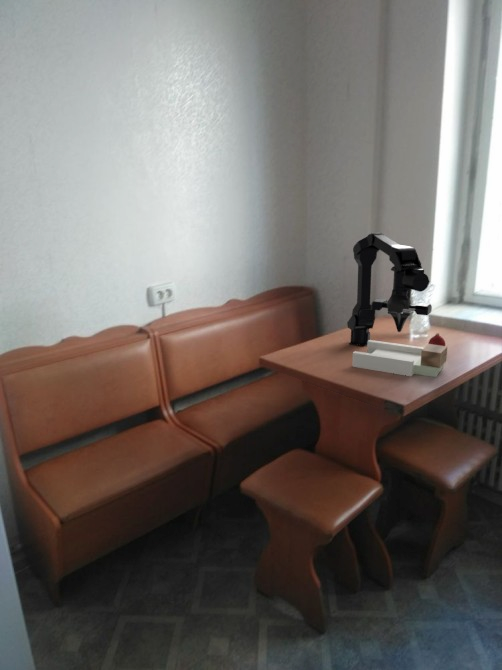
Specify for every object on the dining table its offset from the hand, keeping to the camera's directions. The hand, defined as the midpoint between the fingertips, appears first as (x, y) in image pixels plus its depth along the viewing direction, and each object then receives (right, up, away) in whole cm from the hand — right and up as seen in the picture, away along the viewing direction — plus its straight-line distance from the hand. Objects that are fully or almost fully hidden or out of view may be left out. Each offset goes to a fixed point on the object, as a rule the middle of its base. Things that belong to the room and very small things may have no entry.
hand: (399, 331), depth 168 cm
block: (+10, -10, -4) cm, 15 cm away
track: (-2, -11, +5) cm, 12 cm away
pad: (+9, -13, -2) cm, 16 cm away
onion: (+17, -8, +14) cm, 24 cm away
